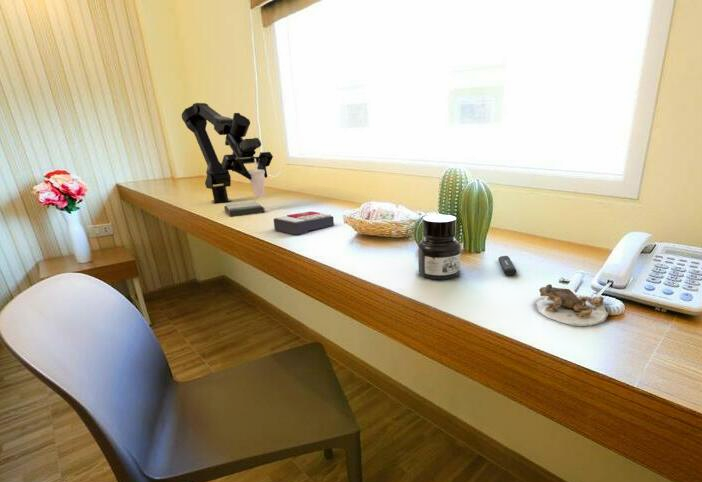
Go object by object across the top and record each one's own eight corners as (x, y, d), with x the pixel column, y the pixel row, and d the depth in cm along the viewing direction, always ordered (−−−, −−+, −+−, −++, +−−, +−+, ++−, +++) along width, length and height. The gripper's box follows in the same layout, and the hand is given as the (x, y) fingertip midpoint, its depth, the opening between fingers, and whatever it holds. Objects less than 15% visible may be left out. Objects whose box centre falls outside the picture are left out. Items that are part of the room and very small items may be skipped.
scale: (225, 211, 151) (223, 204, 150) (257, 207, 157) (256, 201, 156) (230, 216, 142) (228, 209, 141) (264, 212, 148) (263, 205, 147)
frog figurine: (532, 320, 63) (534, 298, 62) (537, 292, 74) (540, 273, 72) (610, 331, 60) (615, 308, 58) (604, 300, 70) (608, 280, 69)
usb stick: (497, 261, 91) (498, 255, 90) (509, 261, 91) (509, 255, 90) (504, 276, 82) (504, 269, 81) (516, 276, 82) (517, 269, 81)
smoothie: (258, 198, 147) (252, 159, 142) (247, 196, 150) (241, 158, 145) (272, 195, 152) (266, 158, 147) (260, 194, 155) (255, 157, 150)
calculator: (333, 214, 125) (294, 220, 114) (334, 227, 126) (296, 235, 115) (311, 210, 131) (272, 216, 120) (312, 223, 133) (274, 230, 121)
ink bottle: (427, 284, 79) (427, 225, 74) (410, 270, 86) (409, 216, 82) (469, 276, 82) (471, 220, 78) (449, 263, 90) (450, 211, 85)
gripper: (219, 131, 138) (240, 165, 135) (266, 129, 151) (287, 161, 149) (212, 153, 145) (233, 186, 143) (258, 150, 159) (278, 180, 156)
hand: (258, 178), depth 147 cm, fingers closed on smoothie, 6 cm apart
